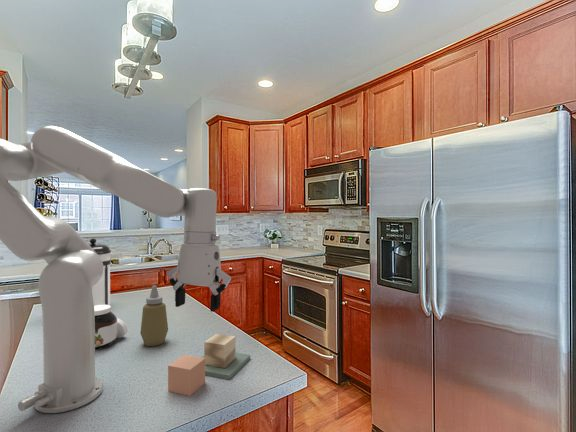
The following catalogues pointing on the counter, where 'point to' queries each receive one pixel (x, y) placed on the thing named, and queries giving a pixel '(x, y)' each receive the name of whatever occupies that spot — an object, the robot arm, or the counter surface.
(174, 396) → the counter surface
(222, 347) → the maple block
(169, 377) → the terracotta block
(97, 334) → the spread jar
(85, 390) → the robot arm
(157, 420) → the counter surface
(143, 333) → the squeeze bottle
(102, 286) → the coffee press
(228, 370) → the plate
